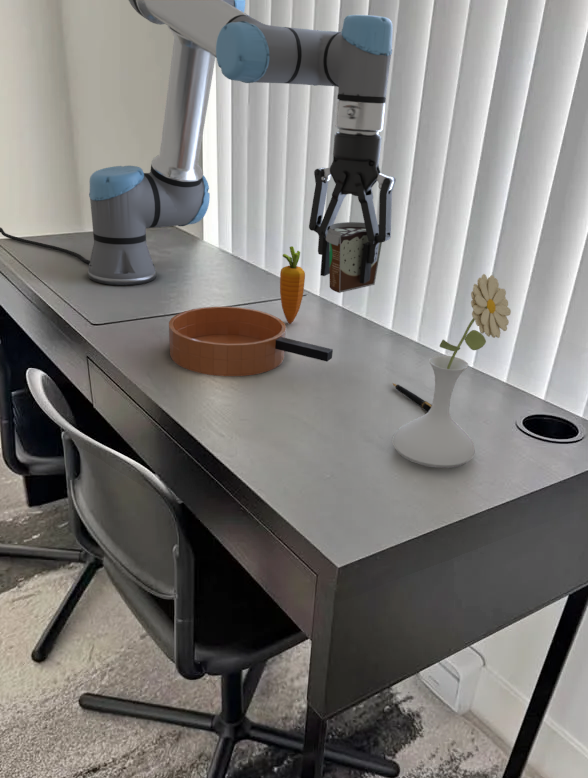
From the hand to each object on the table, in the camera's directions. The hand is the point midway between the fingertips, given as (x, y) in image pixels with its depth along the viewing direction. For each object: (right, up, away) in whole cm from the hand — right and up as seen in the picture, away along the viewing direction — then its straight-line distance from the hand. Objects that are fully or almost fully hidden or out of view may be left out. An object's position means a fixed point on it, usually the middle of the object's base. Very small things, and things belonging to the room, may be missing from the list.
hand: (344, 277), depth 123 cm
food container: (0, -1, +1) cm, 2 cm away
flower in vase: (+11, -32, -25) cm, 42 cm away
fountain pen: (+11, -23, -10) cm, 28 cm away
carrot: (-10, -4, +20) cm, 23 cm away
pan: (-21, -13, +3) cm, 25 cm away
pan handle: (-7, -14, -4) cm, 16 cm away
